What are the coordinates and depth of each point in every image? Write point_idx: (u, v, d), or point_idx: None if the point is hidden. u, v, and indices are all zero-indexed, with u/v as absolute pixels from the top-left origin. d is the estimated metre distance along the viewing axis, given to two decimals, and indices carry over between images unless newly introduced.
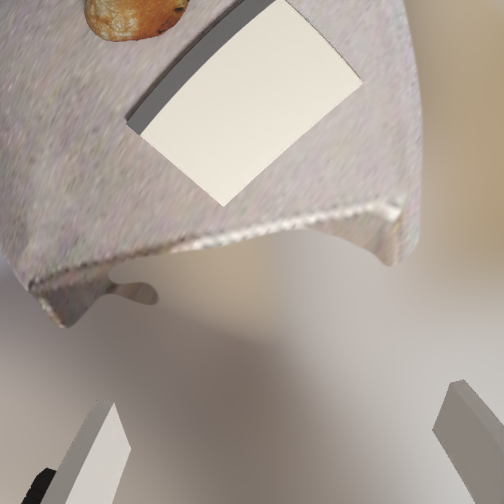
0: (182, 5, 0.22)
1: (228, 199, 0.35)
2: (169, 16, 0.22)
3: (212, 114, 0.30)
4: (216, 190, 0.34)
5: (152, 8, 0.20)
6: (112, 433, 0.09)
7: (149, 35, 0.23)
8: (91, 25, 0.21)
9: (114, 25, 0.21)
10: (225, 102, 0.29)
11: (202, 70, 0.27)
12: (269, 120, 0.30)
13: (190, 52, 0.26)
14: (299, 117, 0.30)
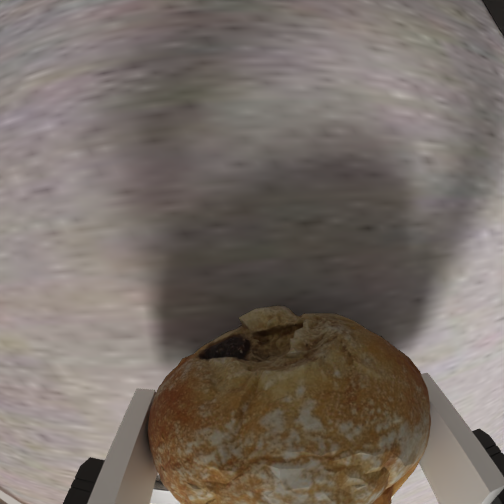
0: None
1: None
2: None
3: None
4: None
5: None
6: None
7: None
8: (159, 467, 0.08)
9: None
10: None
11: None
12: None
13: None
14: None
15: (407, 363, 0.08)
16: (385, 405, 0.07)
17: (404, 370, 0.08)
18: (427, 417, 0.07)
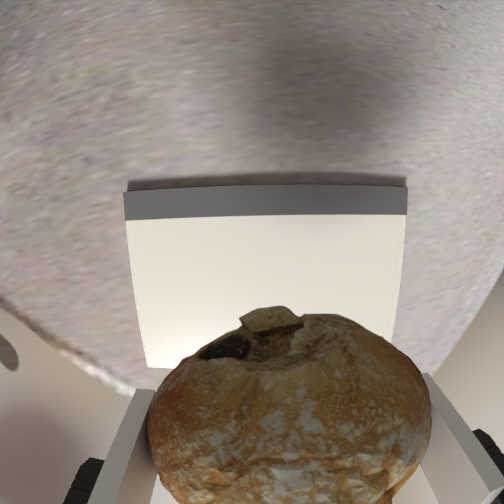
0: None
1: (158, 365, 0.24)
2: None
3: (221, 276, 0.23)
4: (153, 348, 0.24)
5: None
6: None
7: None
8: (159, 468, 0.08)
9: None
10: (247, 276, 0.23)
11: (258, 220, 0.22)
12: None
13: (266, 187, 0.21)
14: None
15: (408, 363, 0.08)
16: (386, 406, 0.07)
17: (404, 370, 0.08)
18: (428, 418, 0.07)
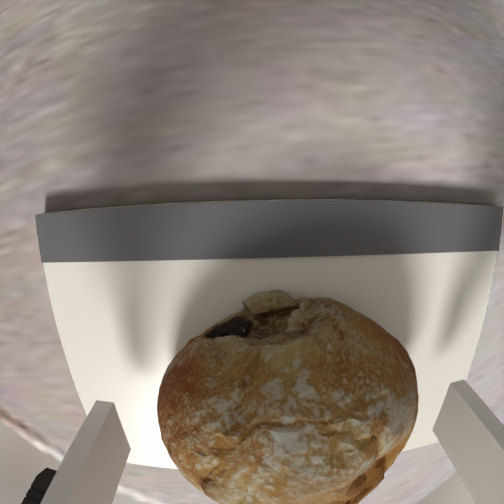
0: None
1: None
2: None
3: None
4: None
5: None
6: (112, 433, 0.09)
7: None
8: (167, 440, 0.09)
9: None
10: None
11: (266, 266, 0.12)
12: None
13: (282, 205, 0.11)
14: None
15: (394, 342, 0.10)
16: (373, 377, 0.08)
17: (391, 347, 0.09)
18: (414, 392, 0.09)
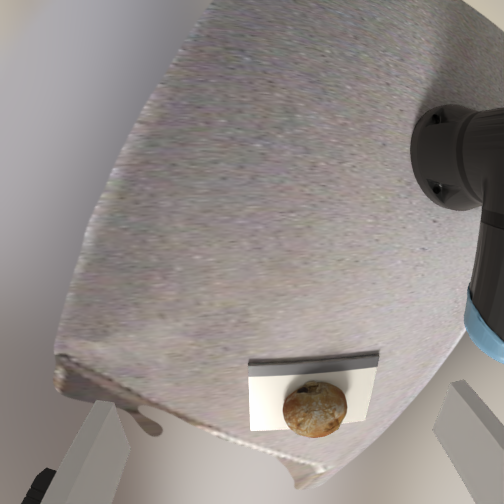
0: None
1: (256, 429, 0.49)
2: None
3: None
4: (255, 423, 0.48)
5: None
6: (112, 433, 0.09)
7: None
8: (289, 416, 0.43)
9: (298, 430, 0.43)
10: None
11: (310, 375, 0.46)
12: None
13: (315, 363, 0.45)
14: None
15: (339, 393, 0.44)
16: (333, 401, 0.42)
17: (338, 395, 0.43)
18: (343, 404, 0.43)
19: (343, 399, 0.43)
